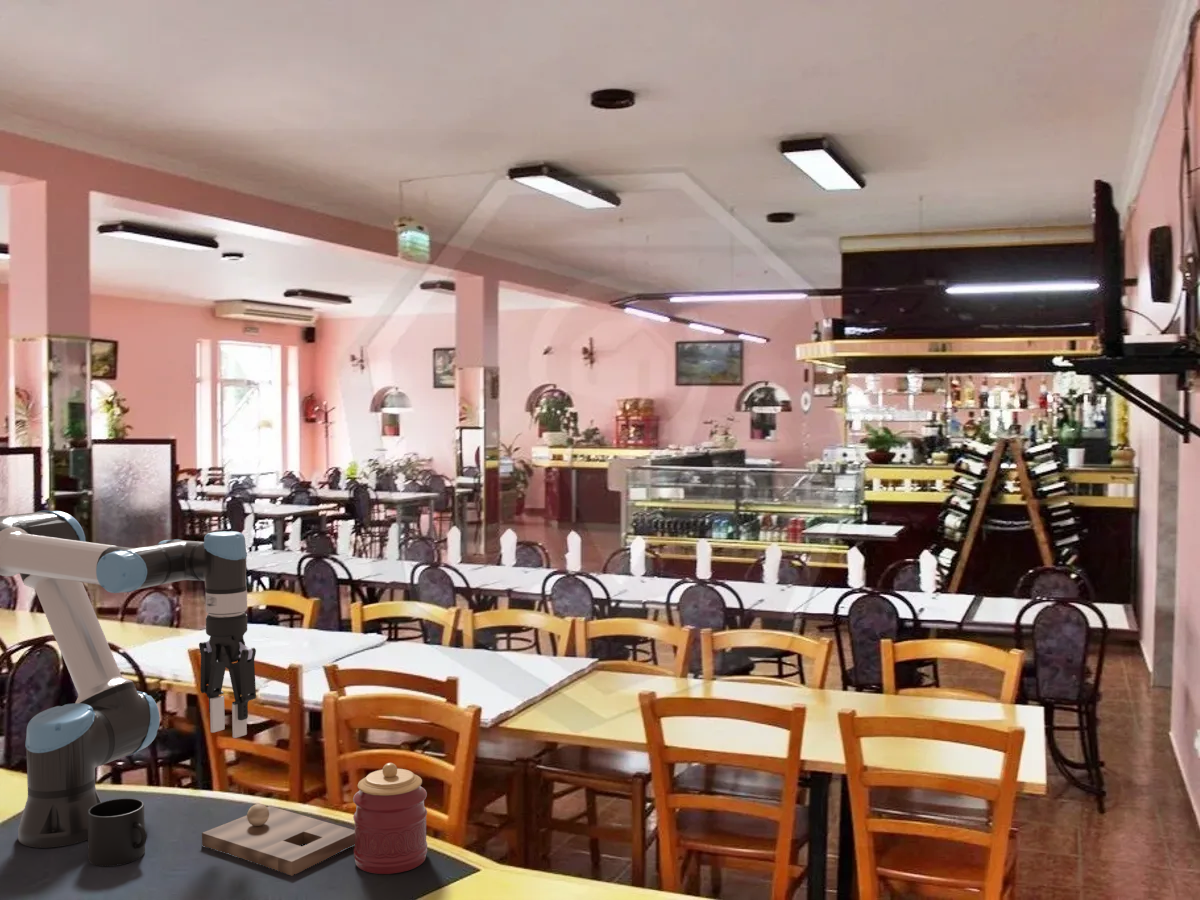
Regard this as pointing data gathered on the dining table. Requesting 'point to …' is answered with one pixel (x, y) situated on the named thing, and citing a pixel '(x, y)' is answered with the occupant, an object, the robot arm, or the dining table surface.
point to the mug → (116, 832)
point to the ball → (258, 815)
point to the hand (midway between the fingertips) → (228, 733)
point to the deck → (280, 840)
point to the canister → (390, 821)
